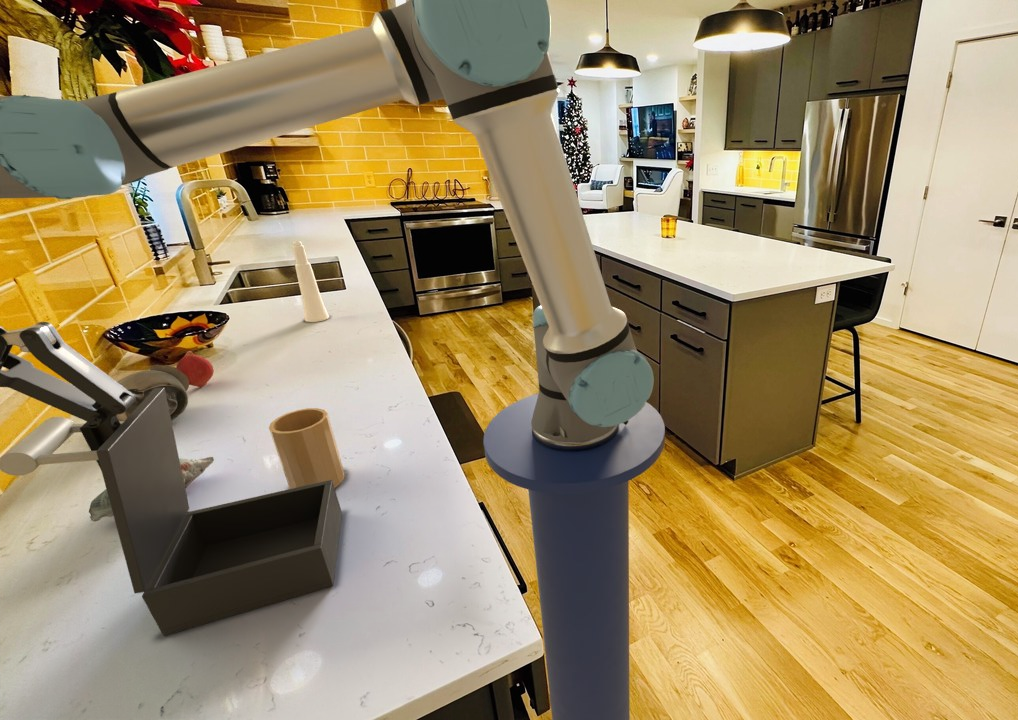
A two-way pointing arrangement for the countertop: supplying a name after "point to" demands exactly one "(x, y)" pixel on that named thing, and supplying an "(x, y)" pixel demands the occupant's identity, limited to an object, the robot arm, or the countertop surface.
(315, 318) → the cosmetic bottle
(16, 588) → the countertop surface
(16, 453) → the lid
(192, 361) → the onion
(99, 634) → the countertop surface
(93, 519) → the packaged food
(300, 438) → the cup
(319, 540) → the grey lidded box
